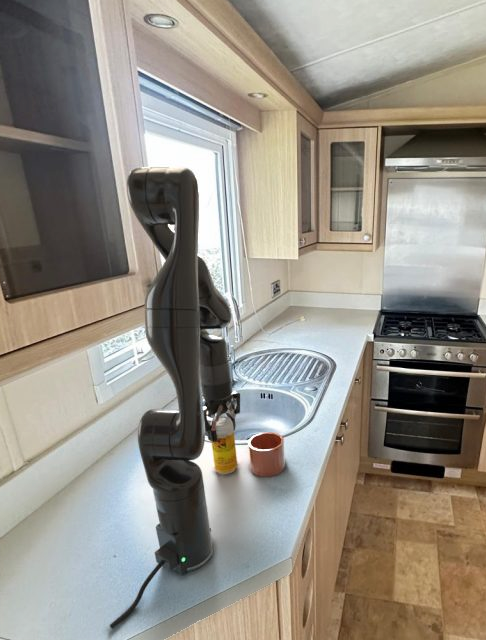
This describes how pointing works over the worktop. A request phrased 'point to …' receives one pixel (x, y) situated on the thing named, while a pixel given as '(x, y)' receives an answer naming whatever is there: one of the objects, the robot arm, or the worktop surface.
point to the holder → (266, 454)
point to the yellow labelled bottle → (224, 446)
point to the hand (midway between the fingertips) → (222, 435)
